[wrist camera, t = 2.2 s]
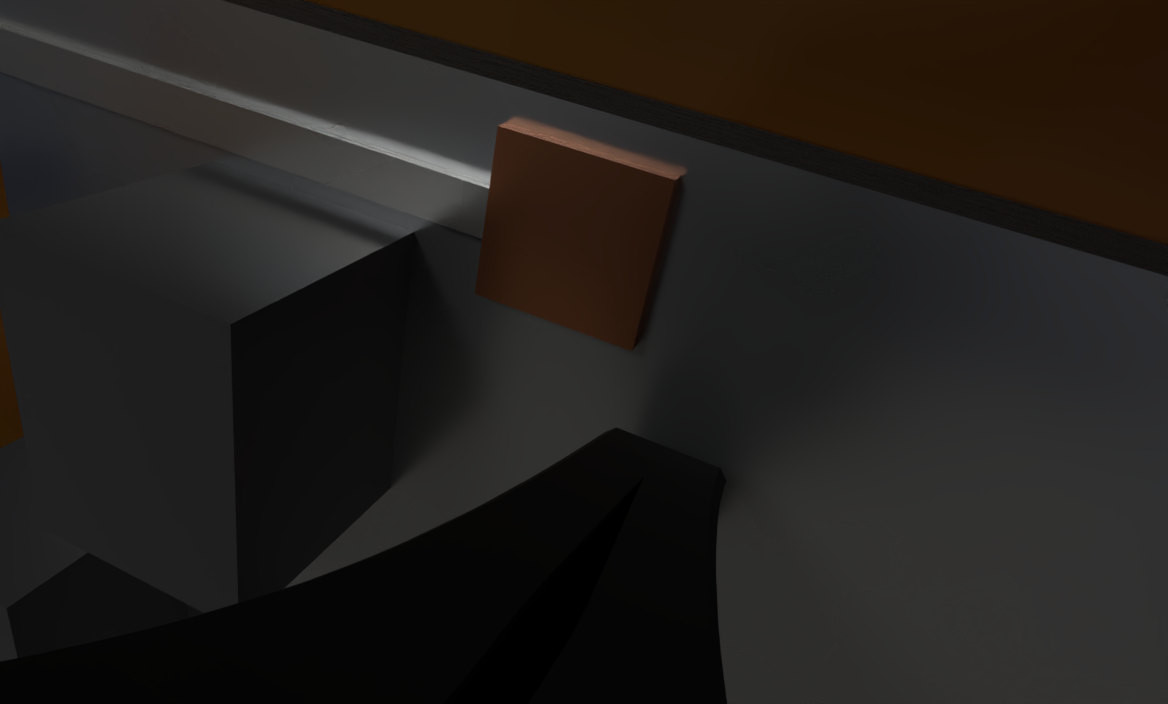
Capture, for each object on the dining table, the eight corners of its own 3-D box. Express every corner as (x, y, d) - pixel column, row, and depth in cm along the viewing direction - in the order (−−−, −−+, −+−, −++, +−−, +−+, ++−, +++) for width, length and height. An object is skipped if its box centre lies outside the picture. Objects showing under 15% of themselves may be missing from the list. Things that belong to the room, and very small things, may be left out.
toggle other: (178, 490, 14) (5, 608, 11) (190, 650, 16) (46, 781, 13) (45, 426, 14) (-146, 523, 12) (71, 586, 16) (-87, 700, 14)
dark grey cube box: (413, 231, 10) (230, 324, 7) (390, 488, 12) (238, 631, 9) (214, 162, 11) (-16, 223, 8) (223, 414, 13) (40, 528, 10)
